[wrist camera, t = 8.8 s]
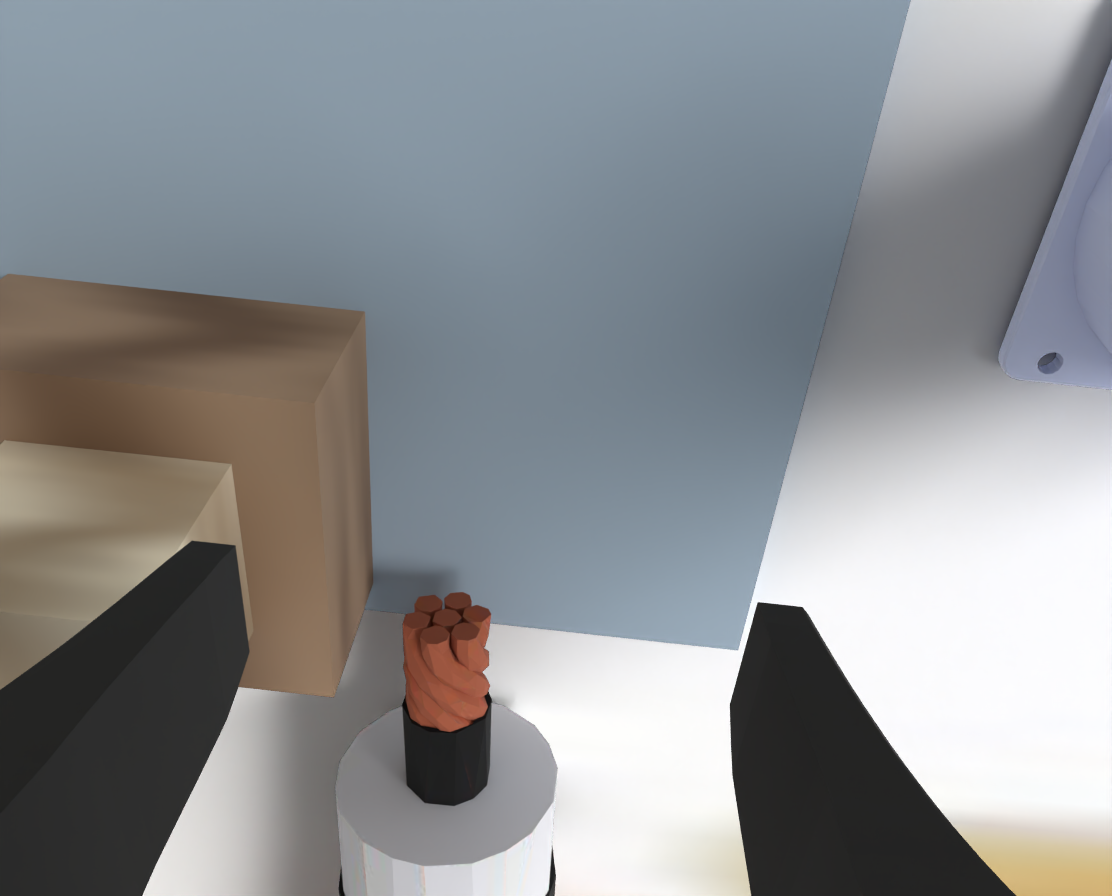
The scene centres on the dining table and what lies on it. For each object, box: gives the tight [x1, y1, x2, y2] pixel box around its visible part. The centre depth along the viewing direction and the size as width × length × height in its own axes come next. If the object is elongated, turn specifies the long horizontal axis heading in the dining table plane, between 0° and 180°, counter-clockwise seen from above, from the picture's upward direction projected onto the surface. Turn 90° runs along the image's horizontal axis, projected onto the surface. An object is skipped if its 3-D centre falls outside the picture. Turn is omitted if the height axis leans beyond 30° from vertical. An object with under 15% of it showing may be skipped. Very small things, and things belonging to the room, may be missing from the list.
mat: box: [0, 0, 911, 650], centre depth 21 cm, size 22×20×1 cm
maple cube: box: [0, 440, 254, 689], centre depth 18 cm, size 4×4×4 cm
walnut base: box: [0, 274, 373, 697], centre depth 22 cm, size 8×8×4 cm
